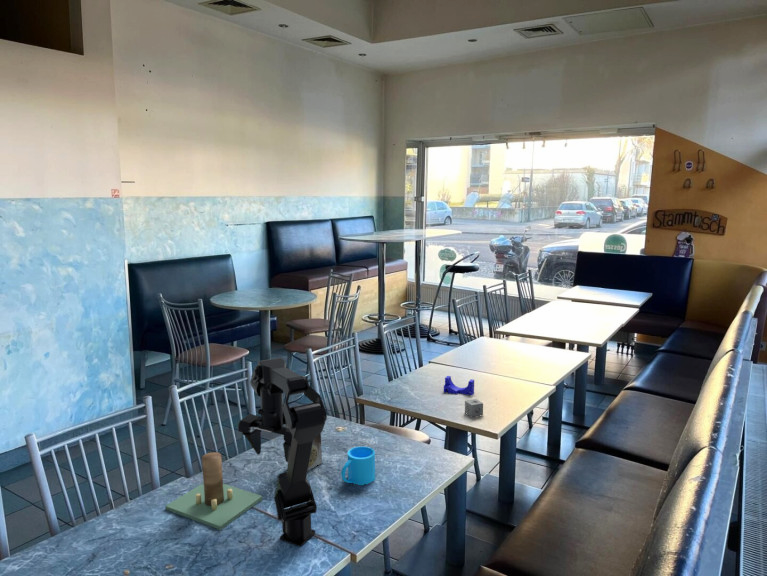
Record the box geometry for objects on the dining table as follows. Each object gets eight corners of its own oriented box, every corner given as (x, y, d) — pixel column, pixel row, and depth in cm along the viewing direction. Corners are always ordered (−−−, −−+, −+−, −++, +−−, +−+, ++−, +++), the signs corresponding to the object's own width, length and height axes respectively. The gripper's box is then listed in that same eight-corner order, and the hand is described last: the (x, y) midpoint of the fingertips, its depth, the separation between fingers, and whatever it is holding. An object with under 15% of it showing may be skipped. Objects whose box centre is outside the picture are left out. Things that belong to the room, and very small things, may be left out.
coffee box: (308, 457, 177) (306, 410, 175) (322, 463, 173) (321, 415, 171) (286, 468, 170) (284, 419, 168) (301, 475, 166) (299, 424, 164)
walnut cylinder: (226, 502, 150) (223, 457, 148) (207, 508, 147) (204, 462, 145) (221, 494, 154) (218, 450, 152) (203, 499, 152) (199, 455, 149)
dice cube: (482, 415, 209) (483, 403, 209) (471, 417, 208) (471, 405, 207) (476, 411, 214) (476, 398, 213) (464, 413, 212) (464, 400, 211)
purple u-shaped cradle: (443, 392, 235) (443, 378, 234) (447, 389, 239) (447, 375, 238) (470, 396, 229) (470, 383, 228) (474, 393, 233) (474, 379, 232)
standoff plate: (262, 499, 153) (261, 487, 153) (220, 530, 139) (219, 517, 139) (210, 482, 163) (209, 471, 162) (165, 509, 149) (164, 497, 148)
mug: (361, 468, 170) (361, 443, 169) (381, 477, 164) (380, 452, 163) (332, 483, 161) (331, 457, 160) (351, 493, 156) (351, 466, 154)
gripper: (317, 399, 150) (318, 451, 153) (260, 387, 156) (261, 437, 160) (296, 416, 140) (297, 471, 143) (235, 402, 146) (237, 455, 150)
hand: (273, 457), depth 149 cm, fingers open, 9 cm apart
